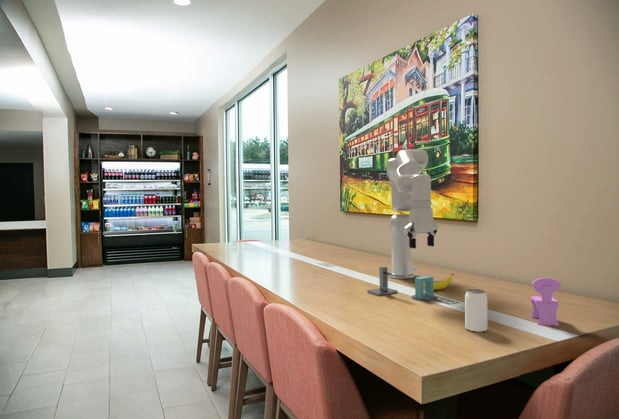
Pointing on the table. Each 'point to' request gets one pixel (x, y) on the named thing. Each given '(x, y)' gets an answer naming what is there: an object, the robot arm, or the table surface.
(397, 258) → the robot arm
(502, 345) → the table surface
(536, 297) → the toy chair
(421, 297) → the link
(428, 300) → the coaster
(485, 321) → the can
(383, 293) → the stand
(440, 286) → the banana
